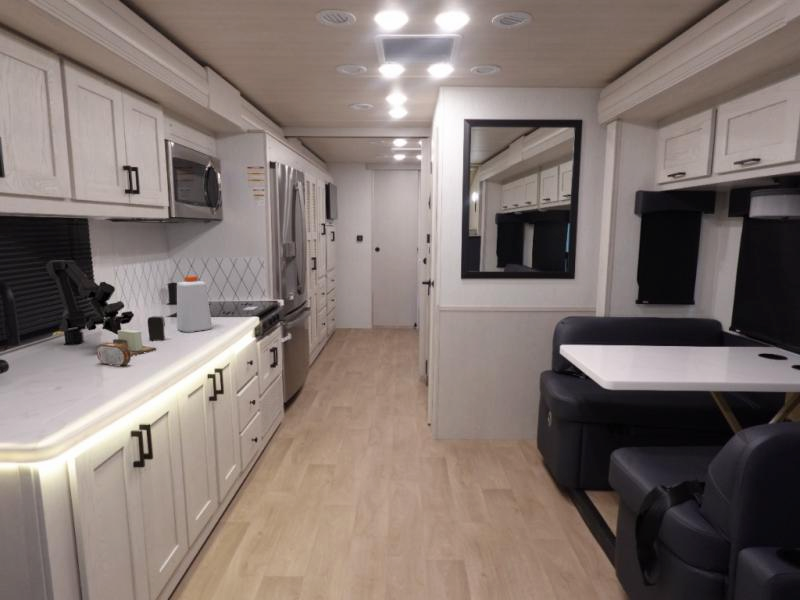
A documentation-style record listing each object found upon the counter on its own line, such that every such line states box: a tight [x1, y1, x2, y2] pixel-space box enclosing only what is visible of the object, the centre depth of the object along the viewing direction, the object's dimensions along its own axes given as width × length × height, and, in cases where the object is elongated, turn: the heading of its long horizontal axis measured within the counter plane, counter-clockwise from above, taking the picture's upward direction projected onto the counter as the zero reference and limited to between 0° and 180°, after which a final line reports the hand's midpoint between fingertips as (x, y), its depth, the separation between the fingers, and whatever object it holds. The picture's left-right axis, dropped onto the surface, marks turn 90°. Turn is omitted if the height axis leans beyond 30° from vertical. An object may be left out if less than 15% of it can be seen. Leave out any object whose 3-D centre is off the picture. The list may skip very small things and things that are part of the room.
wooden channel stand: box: [112, 338, 157, 357], centre depth 207 cm, size 16×14×6 cm
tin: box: [96, 342, 132, 366], centre depth 187 cm, size 15×3×8 cm, turn 71°
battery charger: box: [147, 315, 166, 341], centre depth 229 cm, size 7×4×11 cm, turn 99°
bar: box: [117, 328, 143, 351], centre depth 206 cm, size 11×3×8 cm, turn 64°
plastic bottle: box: [176, 275, 213, 333], centre depth 252 cm, size 15×15×28 cm
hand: (120, 334), depth 208 cm, fingers closed
